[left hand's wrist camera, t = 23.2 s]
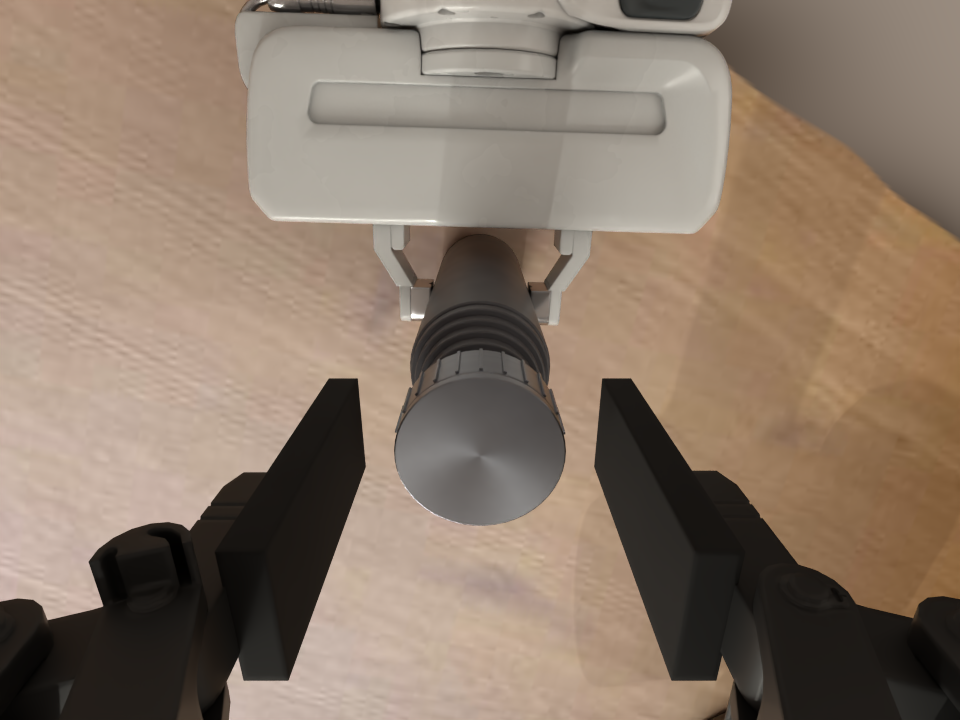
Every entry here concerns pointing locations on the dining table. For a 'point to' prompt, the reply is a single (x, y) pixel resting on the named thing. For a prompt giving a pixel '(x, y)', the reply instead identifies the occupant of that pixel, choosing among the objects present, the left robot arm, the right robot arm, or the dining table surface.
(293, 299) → the dining table surface
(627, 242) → the dining table surface
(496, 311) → the bottle
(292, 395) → the dining table surface
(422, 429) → the cap
